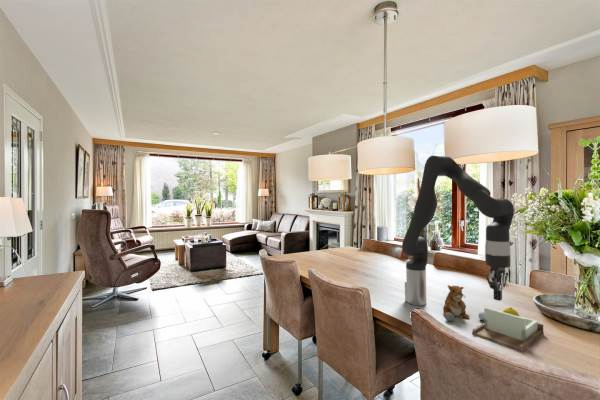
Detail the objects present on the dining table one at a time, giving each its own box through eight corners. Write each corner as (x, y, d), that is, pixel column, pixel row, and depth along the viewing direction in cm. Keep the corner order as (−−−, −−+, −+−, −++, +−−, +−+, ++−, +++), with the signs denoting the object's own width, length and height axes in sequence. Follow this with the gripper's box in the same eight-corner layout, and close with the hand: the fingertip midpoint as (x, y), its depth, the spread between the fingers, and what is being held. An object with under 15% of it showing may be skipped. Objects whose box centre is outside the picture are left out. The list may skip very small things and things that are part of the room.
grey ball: (443, 320, 120) (443, 312, 120) (447, 318, 122) (447, 310, 122) (451, 323, 117) (451, 315, 117) (456, 321, 119) (455, 313, 119)
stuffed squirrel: (445, 318, 123) (444, 288, 123) (439, 306, 136) (438, 279, 136) (471, 320, 120) (470, 290, 120) (462, 308, 133) (461, 280, 133)
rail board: (472, 333, 108) (471, 324, 108) (495, 320, 120) (495, 311, 120) (522, 352, 95) (522, 340, 95) (543, 334, 106) (543, 324, 106)
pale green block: (484, 328, 111) (484, 308, 111) (498, 319, 118) (498, 300, 118) (524, 341, 100) (524, 319, 100) (537, 331, 107) (537, 310, 107)
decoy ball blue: (476, 319, 120) (476, 311, 120) (480, 317, 122) (480, 309, 122) (485, 322, 117) (485, 314, 117) (489, 320, 119) (489, 312, 119)
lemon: (523, 331, 106) (523, 309, 106) (509, 331, 106) (509, 310, 106) (512, 324, 112) (511, 304, 112) (498, 325, 111) (498, 305, 111)
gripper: (493, 249, 109) (493, 293, 109) (478, 253, 102) (478, 300, 102) (516, 252, 103) (517, 298, 103) (502, 256, 96) (502, 307, 96)
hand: (497, 299), depth 103 cm, fingers closed
